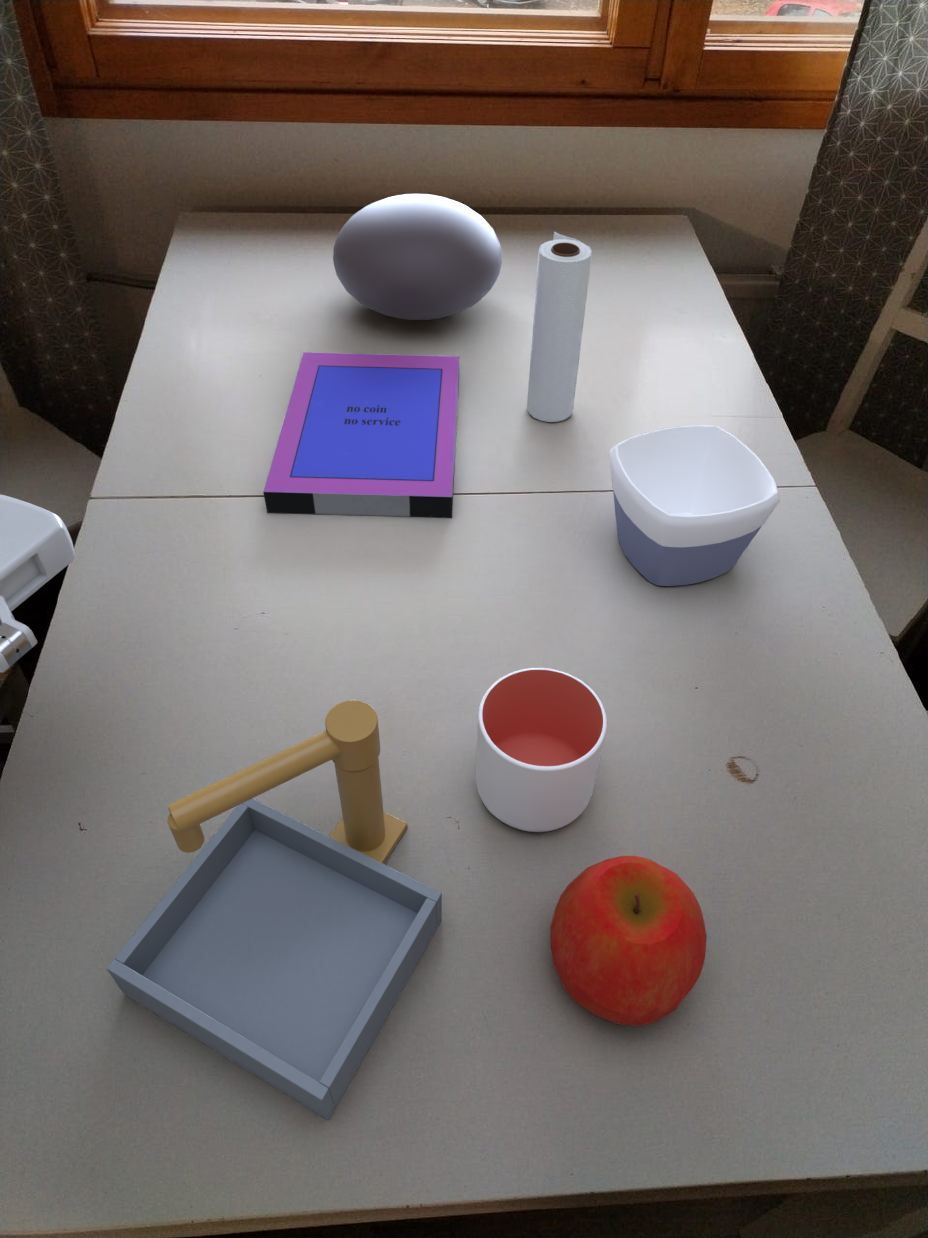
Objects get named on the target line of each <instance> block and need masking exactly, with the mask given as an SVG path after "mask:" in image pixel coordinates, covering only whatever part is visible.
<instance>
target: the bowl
mask: <svg viewBox="0 0 928 1238" xmlns="http://www.w3.org/2000/svg"><path fill="white" fill-rule="evenodd" d="M608 454H609V455H608V456H609V466H610V467H609V468H610V475H611V487H612V494H613V503H614V514H615V524H616V532H617V533H616V535H617V539H618V542H619V544H620V547H621V549H622V552H623V554H624V555H625V557H626V559H627V560H628V561H629V562H630V564H631V565H632V566H633V567H634V569H636V571H637V572H639V573H640V574H641V575H642V576H643V577H644V578H645V579H646V581H648V582H650V583H651V584H653V585H654V586H661V587H672V586H673V587H674V586H686V585H692V584H698V583H702V582H706V581H709V580H712V579H715V578H717V577H719V576H722V575H724V574H725V573H727V572H729V571H731V570H732V569H733V568H734V566H735V565H736V564H737V562H738V561H739V560H740V558H741V557H742V555H743V553H744V552H745V550H747V548H748V547H749V545H750V543H751V542H752V541H753V540H754V538H755V536H757V534H758V532H759V531H760V529H761V528H762V526H764V524H765V523H767V520H768V519H769V518H770V516H771V515H772V513H773V512H774V511H775V509H776V507H777V506H778V505H779V503H780V502H781V498H780V493H779V490H778V485H777V483H776V480H775V478H774V477H773V476H772V474H771V473H770V471H769V469H768V468H767V466H765V464H764V463H763V462H762V460H761V459H760V458H759V456H758V455H757V454H756V453H755V452H754V451H753V450H752V449H750V448H749V446H747V445H746V444H745V443H744V442H742V441H741V440H740V439H738V437H736V435H734V434H733V433H730V432H729V431H727V430H726V429H724V428H722V427H720V426H718V425H712V424H711V425H709V424H691V425H679V426H671V427H665V428H659V429H654V430H651V431H647V432H643V433H639V434H636V435H633V436H631V437H628V438H626V439H624V440H622V441H620V442H619V443H616V444H615V445H614V446H613V447H612V448H611V449H610V451H609V453H608Z"/></svg>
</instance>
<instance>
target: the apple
mask: <svg viewBox="0 0 928 1238" xmlns="http://www.w3.org/2000/svg"><path fill="white" fill-rule="evenodd" d="M705 925H706V924H705V919H704V915H703V911H702V908H701V905H700V903H699V901H698V899H697V897H696V894H695V893H694V892H693V890H692V889H691V888H690V887H689V885H688V884H686V882H685V881H684V880H683V879H682V878H681V877H680V875H679V874H678V873H676V872H675V871H673V870H671V869H669V868H667V867H665V866H664V865H662V864H660V863H658V862H656V861H654V860H653V859H649V858H647V857H642V856H639V855H638V856H637V855H619V856H616V857H615V856H614V857H611V858H606V859H604V860H602V861H599V862H597V863H594V864H592V865H589V866H588V867H587V866H586V868H585V869H584V870H582V871H581V873H579V874H578V875H577V876H576V877H575V878H574V879H573V880H572V881H570V883H569V884H568V885H567V886H566V888H565V889H564V890H563V892H562V893H561V894H560V896H559V899H558V900H557V903H556V906H555V908H554V912H553V916H552V919H551V923H550V927H549V931H550V932H549V933H550V934H549V937H550V939H549V942H550V944H549V945H550V953H551V957H552V962H553V966H554V968H555V971H556V973H557V976H558V977H559V979H560V981H561V983H562V986H563V988H564V990H565V992H566V993H567V994H568V995H569V997H570V998H571V999H572V1000H573V1001H574V1002H575V1003H576V1004H577V1005H578V1006H580V1007H582V1008H583V1009H585V1010H587V1011H588V1012H589V1013H591V1014H593V1015H595V1016H596V1017H598V1018H601V1019H604V1020H607V1021H609V1022H612V1023H615V1024H618V1025H620V1026H632V1027H640V1026H644V1025H648V1024H652V1023H657V1022H659V1021H661V1020H662V1019H664V1018H665V1017H667V1016H668V1015H670V1014H671V1013H673V1012H674V1011H676V1010H677V1008H678V1007H679V1006H680V1004H681V1003H682V1002H683V1000H684V999H685V998H686V997H687V996H688V995H689V993H690V992H691V991H692V989H694V987H695V986H696V983H697V982H698V980H699V978H700V976H701V973H702V971H703V967H704V965H705V959H706V952H707V937H708V936H707V930H706V926H705Z"/></svg>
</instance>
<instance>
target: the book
mask: <svg viewBox="0 0 928 1238" xmlns="http://www.w3.org/2000/svg"><path fill="white" fill-rule="evenodd" d="M460 359H461V357H460V356H459V355H427V354H425V355H424V354H423V355H422V354H390V353H389V354H388V353H387V354H386V353H385V354H384V353H350V352H349V353H348V352H347V353H346V352H313V351H312V352H310V351H303V352H302V355H301V359H300V362H299V366H298V369H297V371H296V376H295V379H294V383H293V386H292V389H291V393H290V397H289V400H288V404H287V408H286V411H285V415H284V418H283V422H282V425H281V429H280V432H279V435H278V439H277V443H276V446H275V450H274V452H273V453H274V454H273V457H272V460H271V463H270V467H269V470H268V473H267V478H266V481H265V484H264V487H263V491H262V493H263V498H264V503H265V509H266V513H267V514H291V515H295V514H297V515H325V516H326V515H328V516H329V515H331V516H360V517H361V516H368V517H400V518H434V519H435V518H437V519H438V518H441V519H453V508H454V507H453V506H454V488H455V487H454V486H455V470H456V469H455V468H456V450H457V449H456V448H457V430H458V428H457V427H458V409H459V393H460V392H459V390H460Z"/></svg>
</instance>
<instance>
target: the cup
mask: <svg viewBox="0 0 928 1238" xmlns="http://www.w3.org/2000/svg"><path fill="white" fill-rule="evenodd" d="M477 715H478V716H477V735H476V757H475V786H476V790H477V792H478V795H479V797H480V800H481V802H482V803H483V805H484V806H485V807H486V809H487V810H488V811H489V812H490V813H491V815H492V816H494V818H496V819H497V820H499V821H500V822H502V823H503V824H505V825H507V826H509V827H511V828H514V829H517V830H520V831H524V832H532V833H543V832H551V831H554V830H555V831H556V830H558V829H561V828H563V827H565V826H567V825H569V824H571V823H573V822H574V821H575V820H576V819H578V818H579V817H580V815H582V813H583V812H584V811H585V810H586V808H587V807H588V806H589V803H590V801H591V799H592V796H593V792H594V789H595V785H596V784H595V783H596V779H597V775H598V770H599V765H600V760H601V756H602V753H603V752H602V751H603V748H604V743H605V738H606V733H607V729H608V728H607V726H608V720H607V714H606V709H605V707H604V705H603V703H602V701H601V699H600V698H599V696H598V695H597V693H596V692H595V690H593V689H592V688H591V687H590V686H589V685H588V684H586V683H585V682H584V681H583V680H581V679H579V678H578V677H576V676H574V675H572V674H570V673H567V672H564V671H562V670H557V669H553V668H547V667H546V668H545V667H531V668H522V669H519V670H515V671H512V672H509V673H507V674H505V675H503V676H501V677H500V678H499V679H497V680H496V681H495V682H493V683H492V684H491V685H490V687H489V688H488V689H487V690H486V691H485V693H484V694H483V696H482V698H481V701H480V703H479V707H478V714H477Z"/></svg>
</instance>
